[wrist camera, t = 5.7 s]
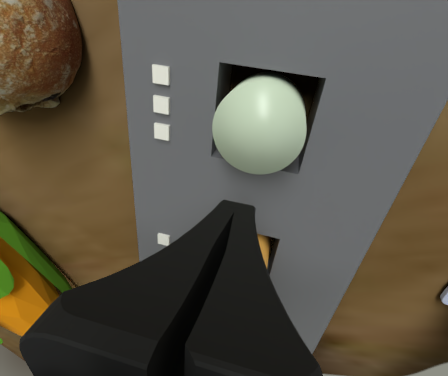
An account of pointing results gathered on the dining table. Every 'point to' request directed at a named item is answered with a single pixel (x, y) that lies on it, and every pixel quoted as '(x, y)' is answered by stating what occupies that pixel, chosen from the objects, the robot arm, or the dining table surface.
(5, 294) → the corn
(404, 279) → the dining table surface
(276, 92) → the green button
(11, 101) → the bread roll
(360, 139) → the button console
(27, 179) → the dining table surface
